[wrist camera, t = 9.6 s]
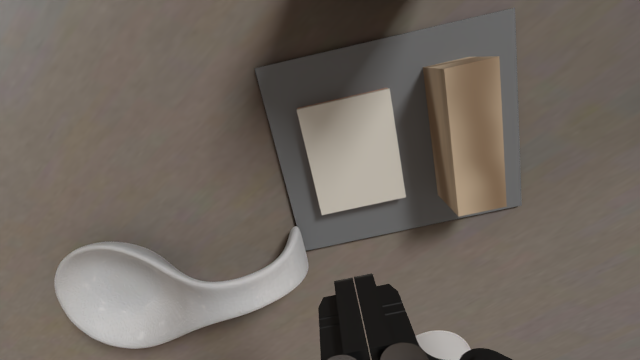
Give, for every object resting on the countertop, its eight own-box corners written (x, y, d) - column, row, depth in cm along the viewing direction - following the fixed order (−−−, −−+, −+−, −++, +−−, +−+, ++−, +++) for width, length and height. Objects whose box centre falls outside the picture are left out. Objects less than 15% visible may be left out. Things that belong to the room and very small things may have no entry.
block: (437, 194, 34) (458, 216, 29) (422, 67, 30) (444, 68, 26) (479, 186, 34) (506, 206, 29) (469, 56, 30) (499, 56, 25)
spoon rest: (106, 332, 39) (61, 390, 32) (56, 238, 35) (-7, 282, 28) (317, 289, 37) (318, 340, 30) (289, 187, 33) (282, 220, 27)
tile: (406, 192, 34) (329, 198, 37) (391, 86, 31) (307, 102, 33) (403, 210, 30) (317, 215, 33) (385, 94, 27) (292, 110, 30)
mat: (303, 249, 36) (303, 251, 36) (255, 68, 30) (254, 68, 30) (519, 203, 35) (521, 205, 35) (512, 8, 29) (514, 7, 29)
